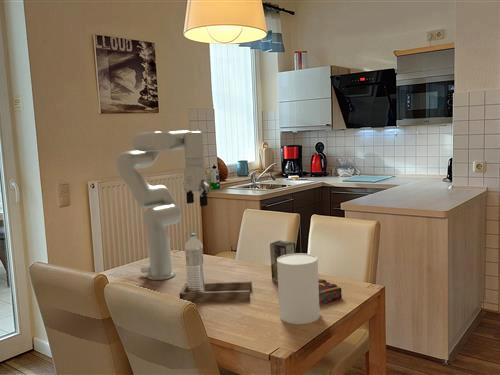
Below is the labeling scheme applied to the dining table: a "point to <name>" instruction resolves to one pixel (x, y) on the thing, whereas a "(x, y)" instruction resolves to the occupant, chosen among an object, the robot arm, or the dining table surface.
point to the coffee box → (279, 254)
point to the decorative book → (328, 292)
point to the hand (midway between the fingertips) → (197, 204)
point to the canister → (298, 288)
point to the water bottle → (194, 265)
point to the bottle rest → (219, 292)
